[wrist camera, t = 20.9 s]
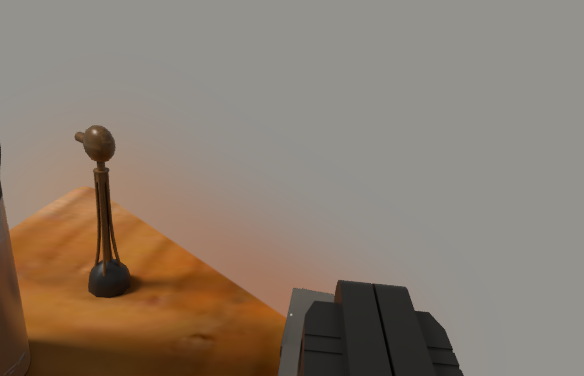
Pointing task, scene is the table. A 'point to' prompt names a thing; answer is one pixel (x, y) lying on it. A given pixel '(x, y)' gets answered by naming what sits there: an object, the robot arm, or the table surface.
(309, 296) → the charcoal domino
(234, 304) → the table surface
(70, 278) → the table surface
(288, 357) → the charcoal domino
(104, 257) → the wooden tabletop sculpture
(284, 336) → the charcoal domino
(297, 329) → the charcoal domino
